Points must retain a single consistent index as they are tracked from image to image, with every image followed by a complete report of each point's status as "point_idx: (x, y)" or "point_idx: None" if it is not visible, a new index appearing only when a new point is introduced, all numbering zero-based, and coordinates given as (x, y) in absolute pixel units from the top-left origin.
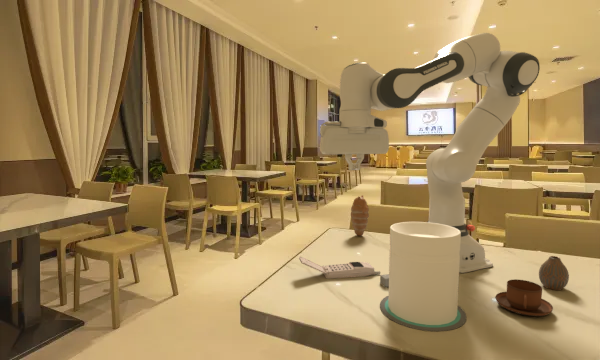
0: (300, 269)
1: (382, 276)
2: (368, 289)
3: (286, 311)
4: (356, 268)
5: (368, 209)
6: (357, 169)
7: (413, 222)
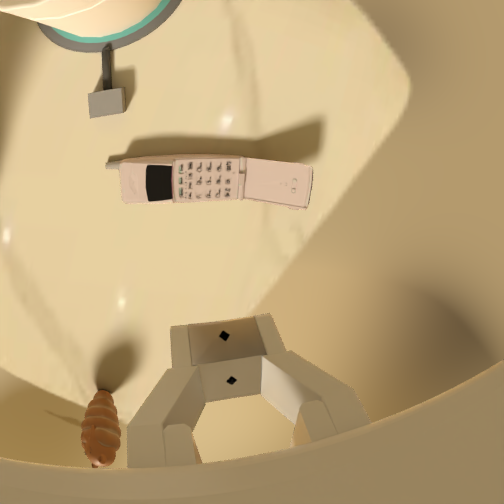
0: (282, 219)
1: (121, 102)
2: (168, 78)
3: (360, 34)
4: (168, 160)
5: (81, 435)
6: (196, 324)
7: (21, 4)
